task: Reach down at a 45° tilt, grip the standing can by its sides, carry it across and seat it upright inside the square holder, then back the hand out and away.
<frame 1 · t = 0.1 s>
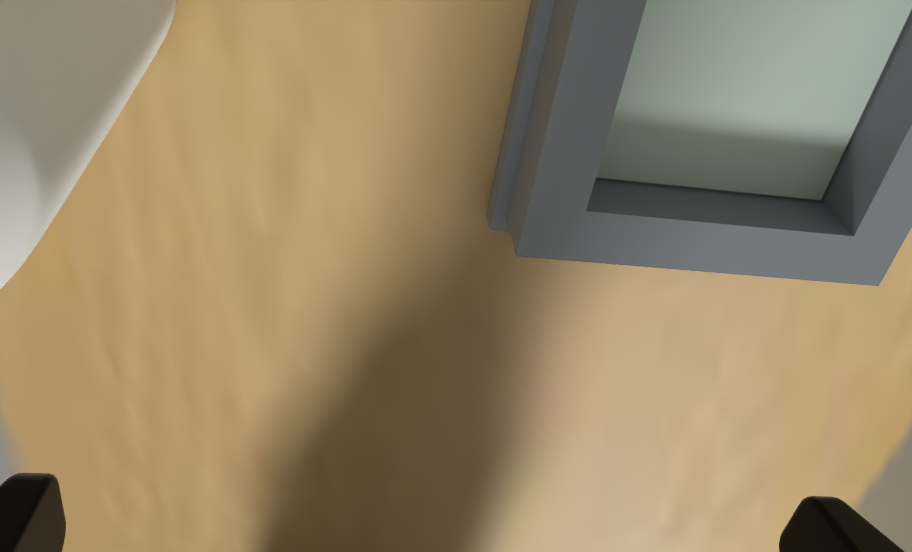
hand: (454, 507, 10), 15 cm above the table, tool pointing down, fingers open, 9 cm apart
holder: (736, 48, 22), on the table
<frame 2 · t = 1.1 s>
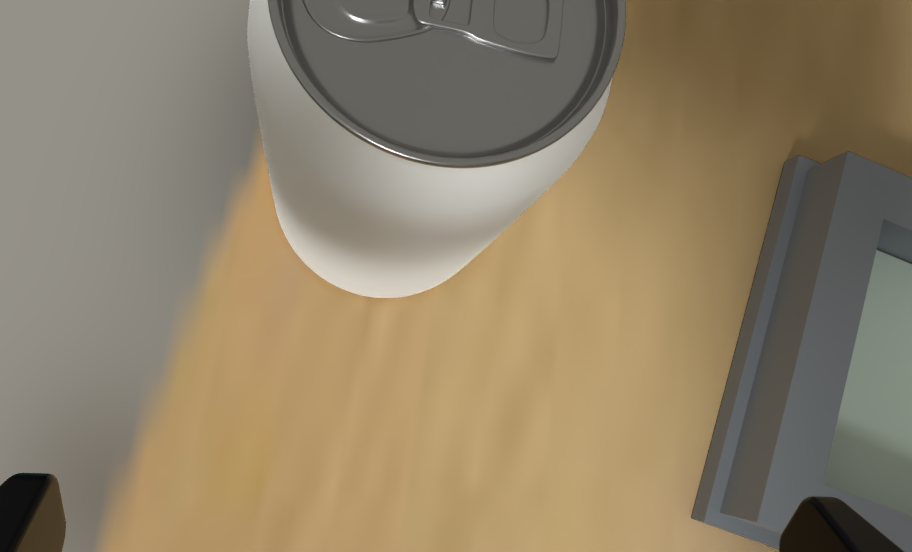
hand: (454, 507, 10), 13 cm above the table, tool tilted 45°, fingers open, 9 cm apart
can: (383, 196, 24), on the table
holder: (904, 394, 26), on the table
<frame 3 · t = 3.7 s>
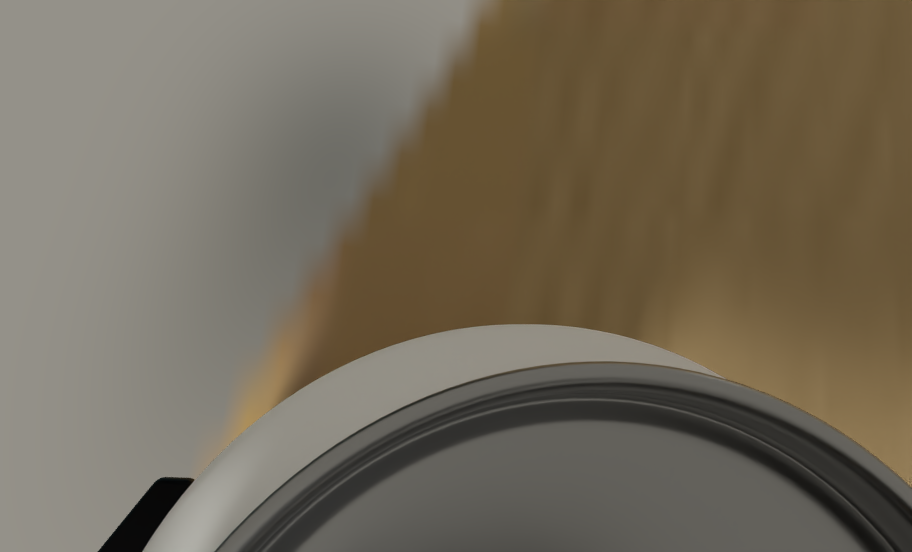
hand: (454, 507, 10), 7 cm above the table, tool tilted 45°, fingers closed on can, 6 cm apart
can: (391, 540, 16), on the table, touching gripper
when the fingers open (10 cm above the table, at t = 8.0 s): can drops 3 cm, resting on holder.
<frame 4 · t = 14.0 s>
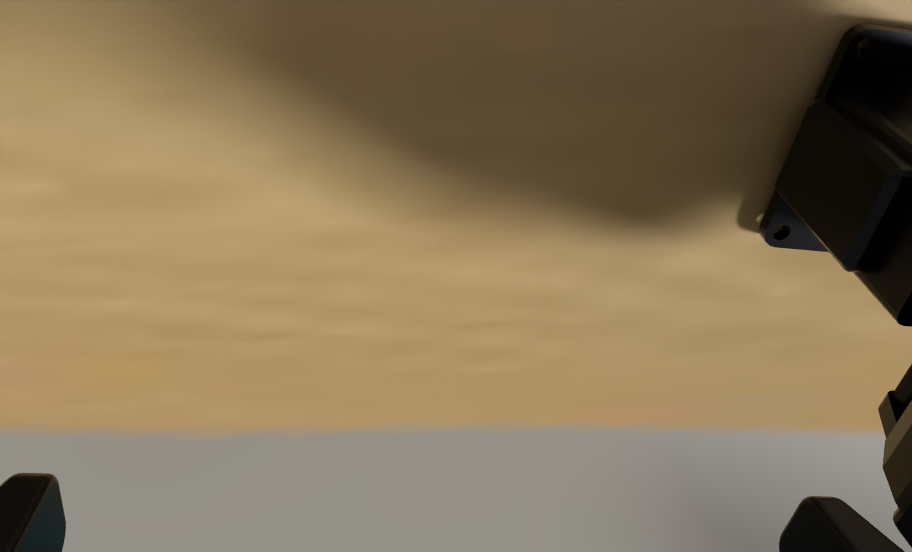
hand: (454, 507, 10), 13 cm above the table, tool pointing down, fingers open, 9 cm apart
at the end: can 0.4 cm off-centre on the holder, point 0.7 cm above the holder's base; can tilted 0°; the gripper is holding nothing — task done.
